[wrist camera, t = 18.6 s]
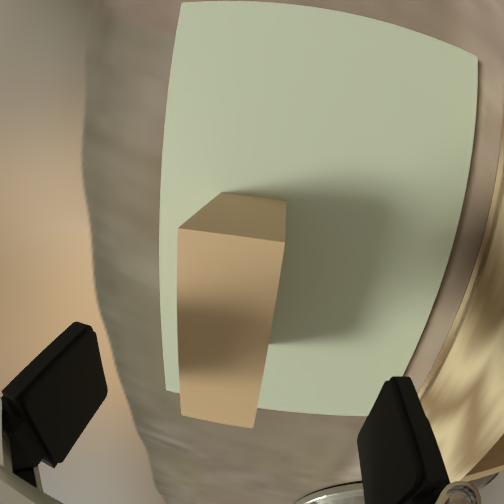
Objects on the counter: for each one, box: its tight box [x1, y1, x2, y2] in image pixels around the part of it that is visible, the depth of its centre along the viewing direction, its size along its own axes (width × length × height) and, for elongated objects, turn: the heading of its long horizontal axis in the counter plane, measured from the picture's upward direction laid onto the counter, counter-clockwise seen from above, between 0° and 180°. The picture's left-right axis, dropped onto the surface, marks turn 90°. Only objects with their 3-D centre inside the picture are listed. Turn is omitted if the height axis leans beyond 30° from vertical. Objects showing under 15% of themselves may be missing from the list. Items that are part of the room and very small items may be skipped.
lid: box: [159, 1, 478, 428], centre depth 13 cm, size 23×15×8 cm, turn 174°
